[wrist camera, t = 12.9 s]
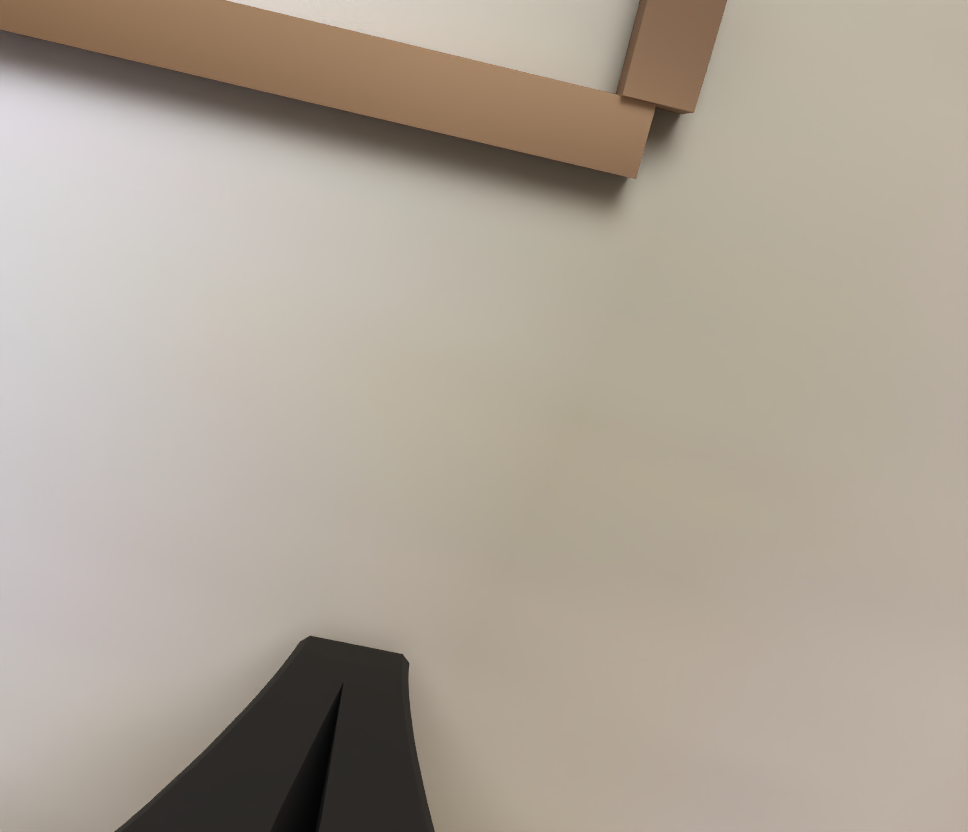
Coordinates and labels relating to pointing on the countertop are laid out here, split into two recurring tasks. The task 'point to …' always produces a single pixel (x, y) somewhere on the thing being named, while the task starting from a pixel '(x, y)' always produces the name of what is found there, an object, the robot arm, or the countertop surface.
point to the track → (403, 70)
